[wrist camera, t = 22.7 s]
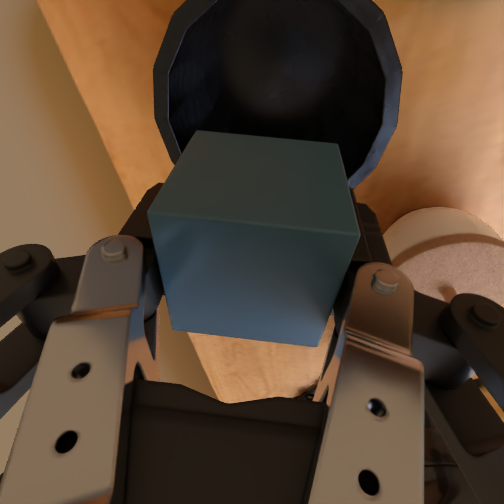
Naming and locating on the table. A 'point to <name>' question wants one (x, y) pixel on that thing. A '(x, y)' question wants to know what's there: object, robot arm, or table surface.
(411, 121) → the table surface
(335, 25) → the pot
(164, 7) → the table surface
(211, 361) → the table surface
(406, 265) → the trinket box
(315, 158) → the block
